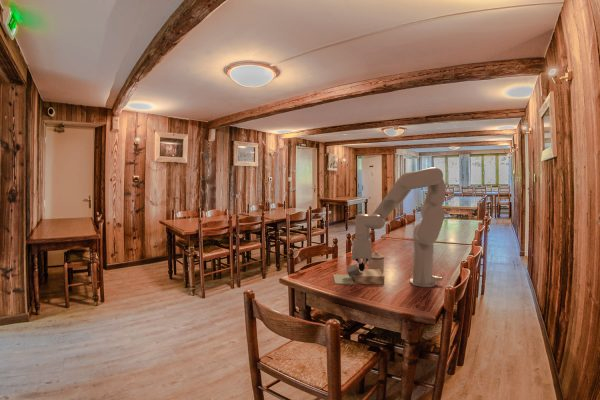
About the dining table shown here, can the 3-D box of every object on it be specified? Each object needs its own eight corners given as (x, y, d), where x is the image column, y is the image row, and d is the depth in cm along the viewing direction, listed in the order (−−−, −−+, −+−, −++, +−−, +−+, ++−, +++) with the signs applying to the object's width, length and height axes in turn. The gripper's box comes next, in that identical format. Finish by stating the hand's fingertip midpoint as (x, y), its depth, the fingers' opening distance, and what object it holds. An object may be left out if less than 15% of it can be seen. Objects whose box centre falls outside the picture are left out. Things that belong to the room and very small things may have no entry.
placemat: (351, 275, 177) (351, 274, 177) (354, 284, 162) (354, 283, 162) (333, 275, 178) (333, 274, 178) (335, 284, 163) (335, 283, 163)
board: (379, 276, 176) (379, 269, 175) (384, 284, 163) (384, 276, 162) (352, 275, 176) (352, 268, 176) (355, 283, 163) (355, 276, 163)
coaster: (357, 268, 174) (356, 264, 174) (360, 273, 165) (358, 268, 165) (347, 271, 174) (346, 267, 174) (349, 276, 165) (347, 272, 165)
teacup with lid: (386, 270, 186) (386, 251, 185) (380, 274, 179) (380, 254, 178) (367, 267, 193) (367, 248, 193) (361, 270, 186) (361, 251, 185)
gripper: (375, 236, 172) (374, 269, 173) (347, 235, 172) (346, 268, 173) (377, 238, 164) (376, 273, 165) (349, 238, 165) (348, 272, 166)
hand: (361, 270), depth 169 cm, fingers closed
